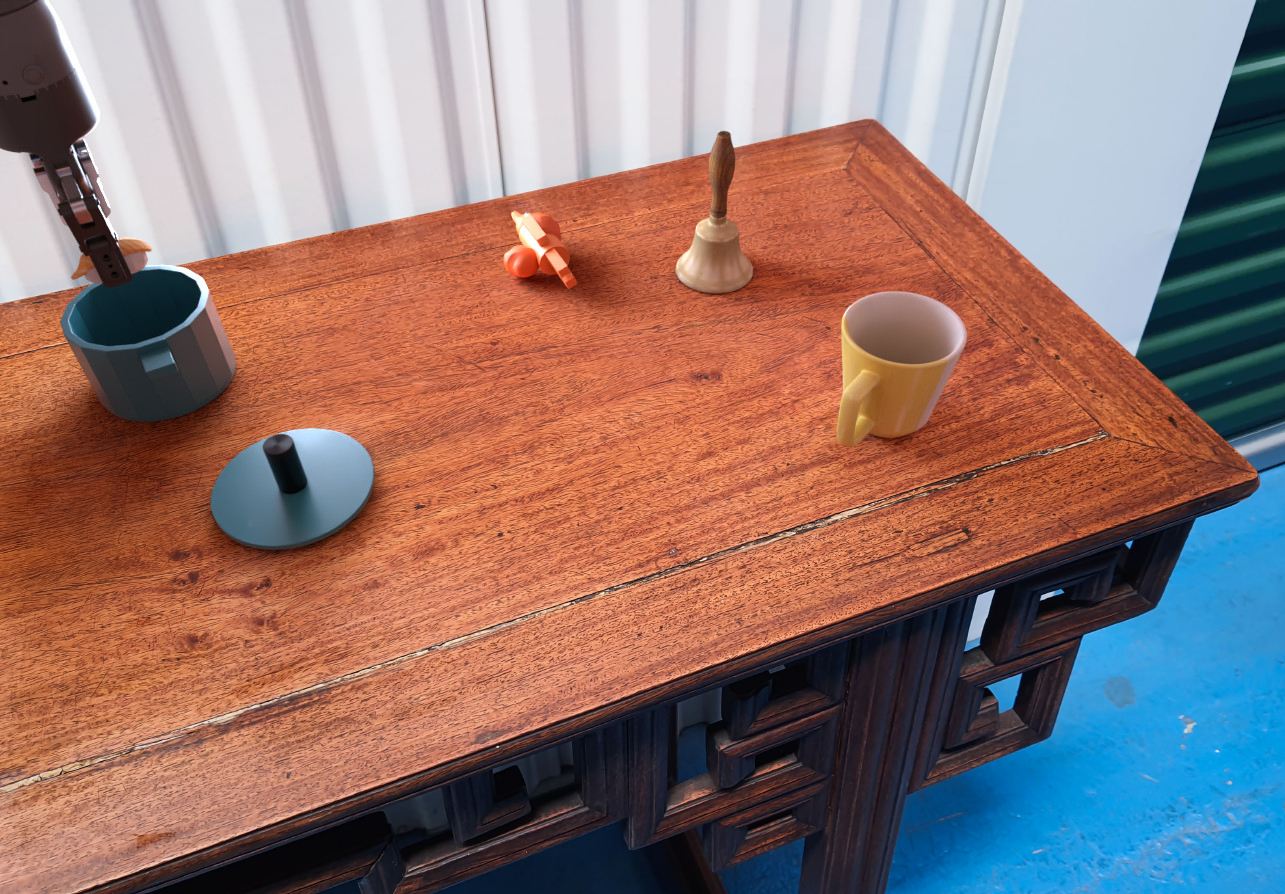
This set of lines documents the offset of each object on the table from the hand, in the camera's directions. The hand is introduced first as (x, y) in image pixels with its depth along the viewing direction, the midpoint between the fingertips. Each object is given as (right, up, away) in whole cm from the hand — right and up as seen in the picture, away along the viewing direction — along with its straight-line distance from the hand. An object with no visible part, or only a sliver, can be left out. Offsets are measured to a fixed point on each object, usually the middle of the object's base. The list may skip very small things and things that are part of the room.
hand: (115, 271), depth 81 cm
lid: (+13, -18, +3) cm, 23 cm away
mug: (+64, -12, +9) cm, 65 cm away
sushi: (0, 0, 0) cm, 1 cm away
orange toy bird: (+32, +5, +26) cm, 41 cm away
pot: (-2, -8, +14) cm, 16 cm away
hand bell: (+51, +4, +26) cm, 57 cm away
